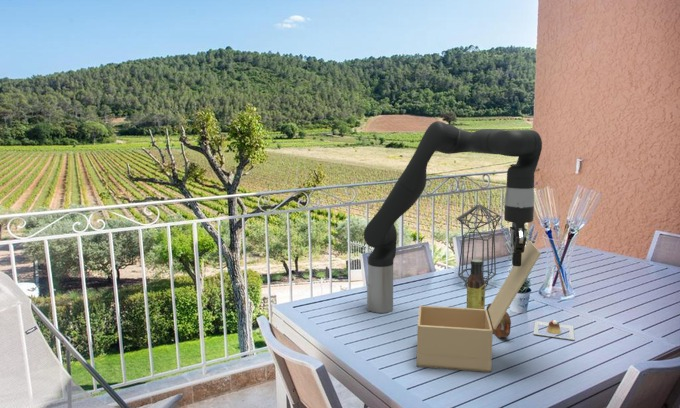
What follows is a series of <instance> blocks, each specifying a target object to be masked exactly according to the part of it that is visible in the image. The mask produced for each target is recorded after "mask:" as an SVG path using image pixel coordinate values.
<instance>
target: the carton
mask: <svg viewBox="0 0 680 408" xmlns="http://www.w3.org/2000/svg"><path fill="white" fill-rule="evenodd" d="M416 331H417V335H416V336H417V341H416V342H417V343H416V344H417V345H416V347H417V348H416V367H418V368H419V367H420V368H429V369H430V368H431V369H444V370H456V371H470V372H480V371H482V373H491V372H492V354H493V352H492V350H493V334H494V333H493V330H492V326H491V323H490V319H489V316H488V312H487V310H486V309H473V308H467V307H451V306H434V305H419V308H418V317H417V330H416Z"/></svg>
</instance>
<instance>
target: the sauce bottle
mask: <svg viewBox="0 0 680 408" xmlns="http://www.w3.org/2000/svg"><path fill="white" fill-rule="evenodd" d="M482 265H483V261H482V259H476V258H475V259H474V258H473V260H472V259H471V260H470V269H471V270H470V274H469V276H467V277H468V279H467V282H468V283H467V286H466V308H473V309H485V306H486V305H485V304H486V287H485V286H486V283H485V280H486V279H484V278H485V276H484V273H483V274H482ZM485 310H486V309H485Z"/></svg>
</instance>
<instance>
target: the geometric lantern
mask: <svg viewBox="0 0 680 408" xmlns="http://www.w3.org/2000/svg"><path fill="white" fill-rule="evenodd" d="M479 212H480V214H479ZM491 213H492V214H494V215H492V214H491ZM469 215H471V216H470V218H469V219H468V216H469ZM473 217H474V218H475V221H471V220H472V218H473ZM479 217H481V218H479ZM483 217H485V218H486V221H483ZM501 219H502V215H500V214H498V213H496V212H495V211H493V210H491V209H489V208H487V207H485V206H484V205H482V204H480V203H479V204H475V205H474V206H473V207H471V208H470V209H469V210H467V211H466V212H464V213H463V214H461V215H459V216H458V217H456V218H455V220H456V221H458V222H460V225H461V238H462V239H461V246H460V247H461V249H460V255H459V265H458V266H459V267H458V273H457V274H458V275H457V276H458V277H459V278H460V279H461V280H462V281H463V282H464V284H463V285H464V287H467V283H468V281H467V280H468V277H469V276H470V274H469V272H468V271H471V268H468V261H469V253H470V243H471V240H472V250H471V251H472V253H471V260H474V250H475V240H478V241H482V259H481V260H482V261H483V265H482V274H483V275H484V273H487V277H484V280H485V288H486V287H487V286H488V285H489V281H491V280H492V279H493V278H494V277H495V276H496V275H497V273H496V272H497V267H496V264H497V263H496V242H495V241H496V239H495V234H496V228H497V227H498V224H499V222H500V221H501ZM470 224H474V227H470ZM476 224H477V225H476ZM491 224H492V227H491ZM486 225H488V226H489V229H490V230H491V231H490V233H489V232H480V231H479V230H478V229H480V228H482V227H484V226H486ZM464 226H466V228H468V229H469V230H468V231H467V232H466V233H464V229H463V227H464ZM472 230H473V231H472ZM475 233H476V234H478V235H479V236H480V238H477V237H476V238H475ZM471 234H473V235H472V237H471ZM482 234H483V235H489V236H488V237H487V238H486V239H485V238H483V236H482ZM467 235H468V236H467ZM466 239H468V244H467V253H466V260H465V262H466V264H465V269H464V258H465V255H464V254H465V240H466ZM490 239H491V264H490V259H489V257H490V254H489V250H490V249H489V240H490ZM485 241H486V253H487V254H486V256H487V258H486V259H487V270H484V268H485V267H484V265H485V264H484V263H485V261H484V260H485V259H484V258H485V255H484V253H485ZM490 265H491V266H490ZM493 265H494V266H493ZM490 267H491V268H490ZM493 267H494V271H493ZM465 272H466V274H467V277H466V276H463V275H464V273H465ZM491 274H493V275H492V276H490V275H491Z"/></svg>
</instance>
